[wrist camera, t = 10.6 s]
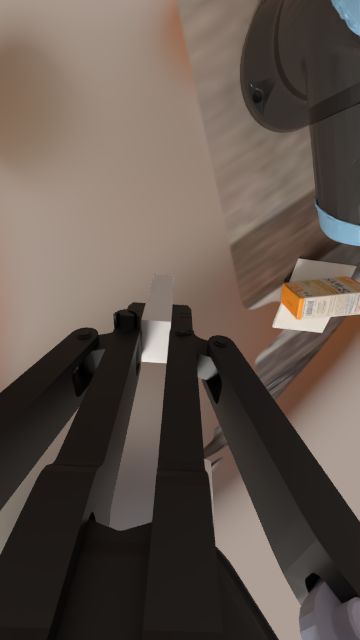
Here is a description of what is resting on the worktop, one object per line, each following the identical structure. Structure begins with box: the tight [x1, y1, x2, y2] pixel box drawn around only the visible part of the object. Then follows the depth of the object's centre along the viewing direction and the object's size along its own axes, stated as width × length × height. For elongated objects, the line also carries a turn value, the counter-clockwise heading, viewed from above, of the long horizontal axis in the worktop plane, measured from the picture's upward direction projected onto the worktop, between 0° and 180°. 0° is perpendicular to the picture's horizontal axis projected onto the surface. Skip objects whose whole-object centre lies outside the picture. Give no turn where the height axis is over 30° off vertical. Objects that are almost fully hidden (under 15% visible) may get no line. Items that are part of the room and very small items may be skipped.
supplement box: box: [281, 276, 360, 320], centre depth 46 cm, size 8×5×13 cm
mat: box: [272, 258, 357, 333], centre depth 51 cm, size 16×12×1 cm
